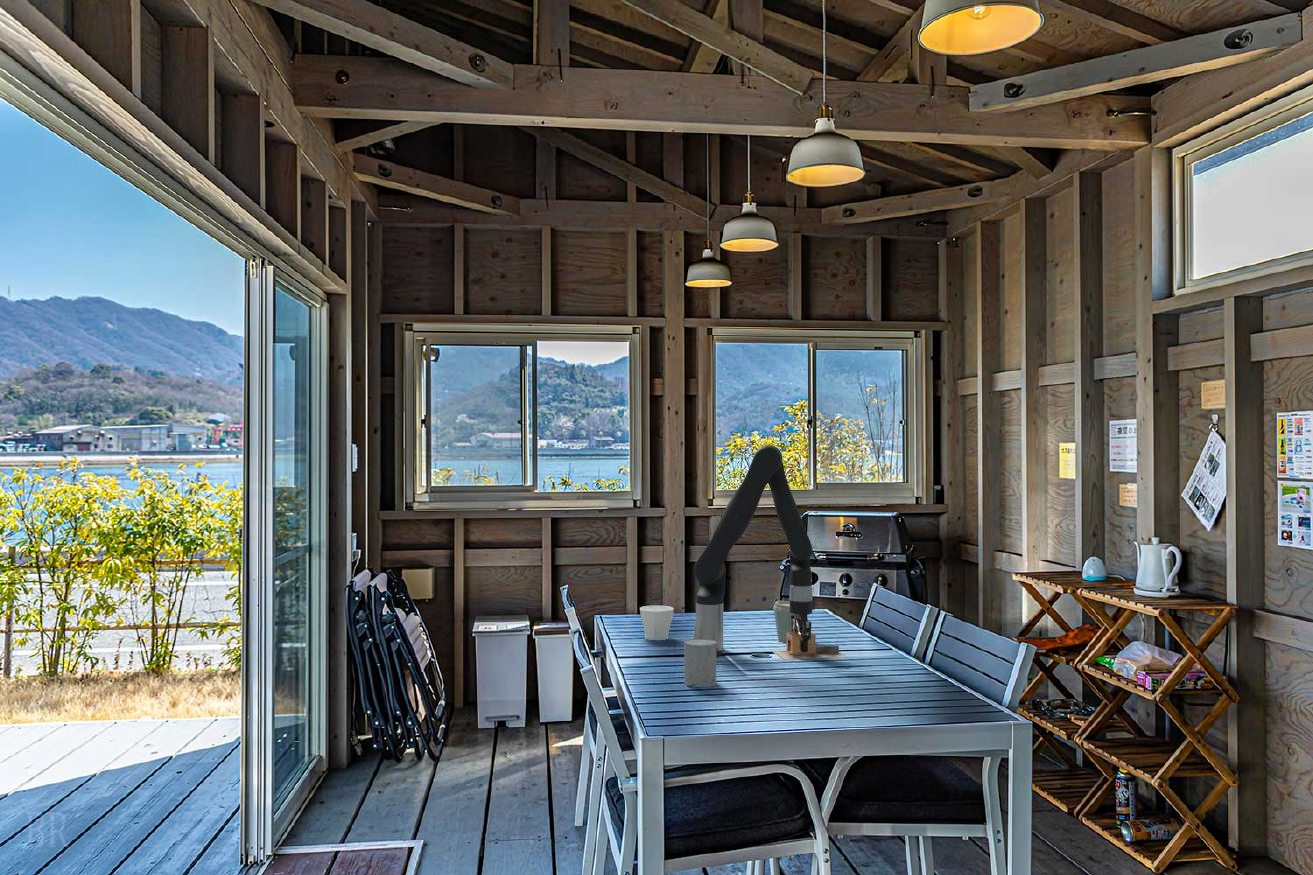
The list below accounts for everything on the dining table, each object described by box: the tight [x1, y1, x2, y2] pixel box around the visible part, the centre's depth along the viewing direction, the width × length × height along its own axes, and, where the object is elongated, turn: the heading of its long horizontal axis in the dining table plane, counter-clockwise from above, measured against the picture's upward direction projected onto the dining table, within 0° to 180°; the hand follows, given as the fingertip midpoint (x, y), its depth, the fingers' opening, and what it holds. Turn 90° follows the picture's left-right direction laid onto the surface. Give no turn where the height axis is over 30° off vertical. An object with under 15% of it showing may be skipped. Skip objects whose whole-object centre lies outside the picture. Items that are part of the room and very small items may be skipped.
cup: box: [639, 605, 675, 641], centre depth 343 cm, size 12×12×11 cm
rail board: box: [771, 644, 848, 660], centre depth 311 cm, size 22×12×4 cm, turn 100°
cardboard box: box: [785, 631, 817, 654], centre depth 311 cm, size 8×6×6 cm
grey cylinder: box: [683, 638, 717, 688], centre depth 278 cm, size 10×10×12 cm
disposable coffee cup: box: [773, 600, 794, 643], centre depth 333 cm, size 11×11×15 cm
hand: (800, 649), depth 311 cm, fingers closed on cardboard box, 6 cm apart
